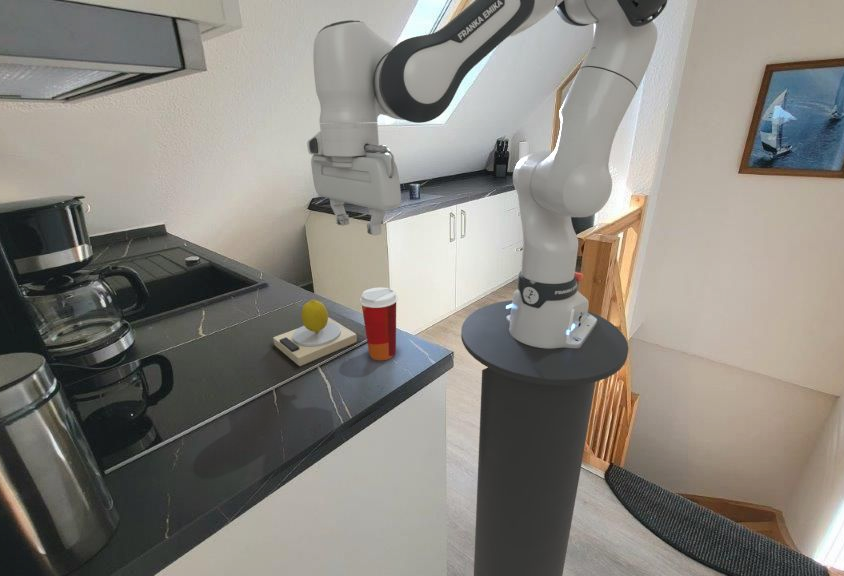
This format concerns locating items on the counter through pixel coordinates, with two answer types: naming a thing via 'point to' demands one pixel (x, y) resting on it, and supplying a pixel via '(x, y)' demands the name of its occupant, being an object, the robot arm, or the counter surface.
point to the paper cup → (380, 321)
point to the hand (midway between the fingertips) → (358, 229)
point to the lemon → (314, 316)
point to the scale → (314, 342)
